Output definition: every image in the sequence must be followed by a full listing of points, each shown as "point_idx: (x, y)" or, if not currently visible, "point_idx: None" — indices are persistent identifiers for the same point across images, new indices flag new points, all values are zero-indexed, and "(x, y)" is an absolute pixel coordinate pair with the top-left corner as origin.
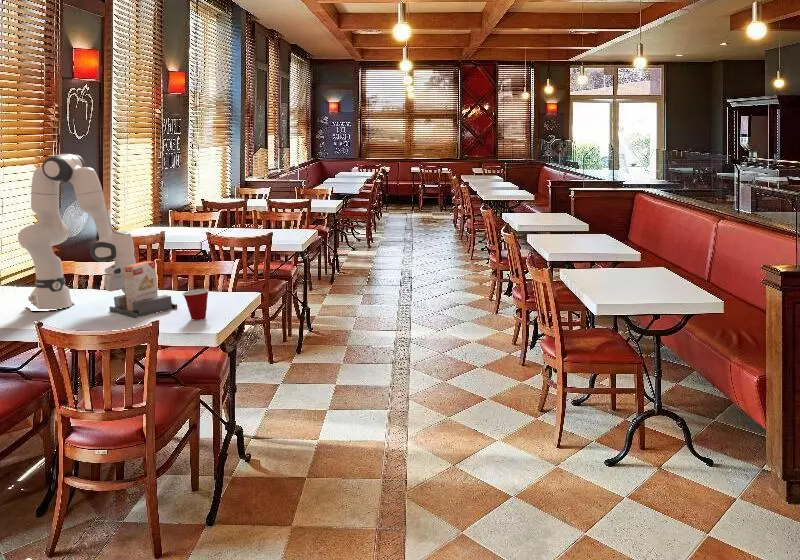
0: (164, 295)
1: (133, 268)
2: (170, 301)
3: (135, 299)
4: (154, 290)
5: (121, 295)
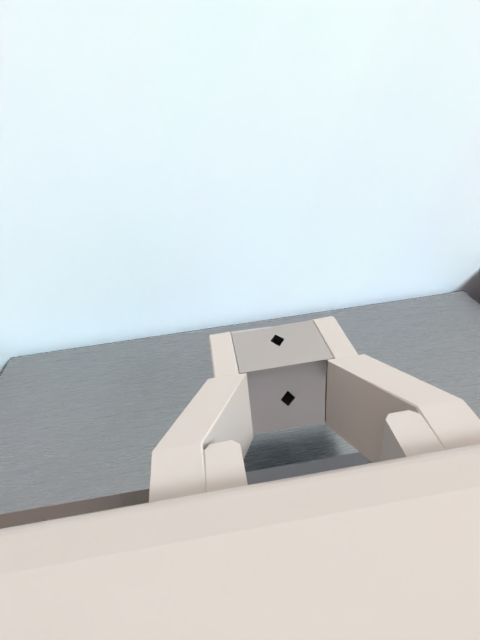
0: None
1: None
2: None
3: None
4: None
5: (89, 501)
